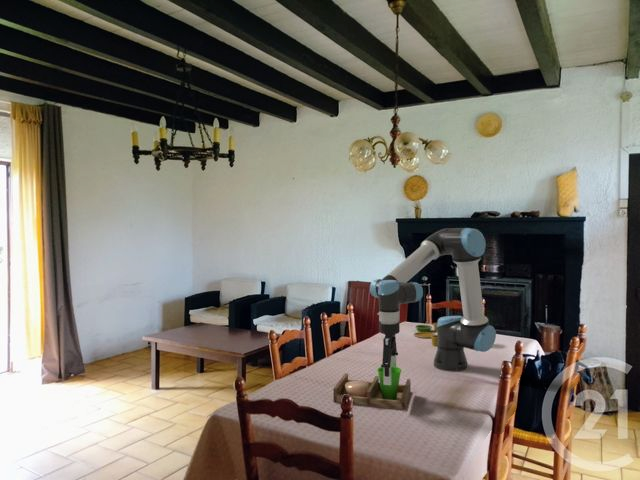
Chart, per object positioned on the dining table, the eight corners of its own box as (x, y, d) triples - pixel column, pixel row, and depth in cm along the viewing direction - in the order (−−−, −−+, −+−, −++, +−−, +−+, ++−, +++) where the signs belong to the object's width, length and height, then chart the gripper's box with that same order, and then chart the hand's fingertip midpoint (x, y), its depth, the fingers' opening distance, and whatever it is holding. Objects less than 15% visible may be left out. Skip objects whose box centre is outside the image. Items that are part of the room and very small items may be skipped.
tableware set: (468, 348, 248) (468, 337, 248) (415, 347, 253) (415, 335, 253) (458, 331, 289) (458, 320, 289) (412, 329, 293) (412, 319, 293)
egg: (370, 392, 181) (370, 382, 181) (366, 400, 173) (366, 389, 173) (348, 390, 184) (348, 379, 184) (342, 398, 175) (342, 387, 175)
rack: (410, 394, 181) (410, 379, 181) (405, 412, 164) (405, 395, 164) (345, 388, 189) (345, 373, 189) (333, 404, 172) (333, 388, 172)
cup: (401, 404, 169) (400, 374, 169) (375, 402, 171) (375, 372, 171) (402, 395, 178) (402, 366, 177) (378, 393, 180) (378, 365, 179)
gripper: (384, 314, 187) (385, 367, 188) (373, 329, 163) (374, 389, 164) (403, 315, 185) (404, 368, 186) (394, 330, 161) (395, 391, 162)
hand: (390, 378), depth 175 cm, fingers open, 13 cm apart
